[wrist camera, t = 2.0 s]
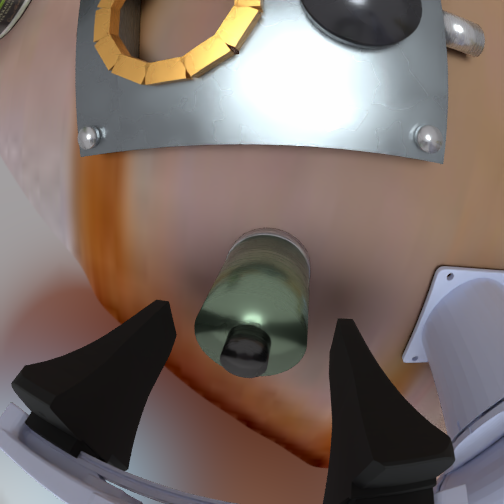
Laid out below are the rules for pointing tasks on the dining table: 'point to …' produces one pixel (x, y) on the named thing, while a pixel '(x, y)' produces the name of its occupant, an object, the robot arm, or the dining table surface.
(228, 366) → the green cylinder
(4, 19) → the coffee can
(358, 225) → the dining table surface
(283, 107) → the grey metal base plate
